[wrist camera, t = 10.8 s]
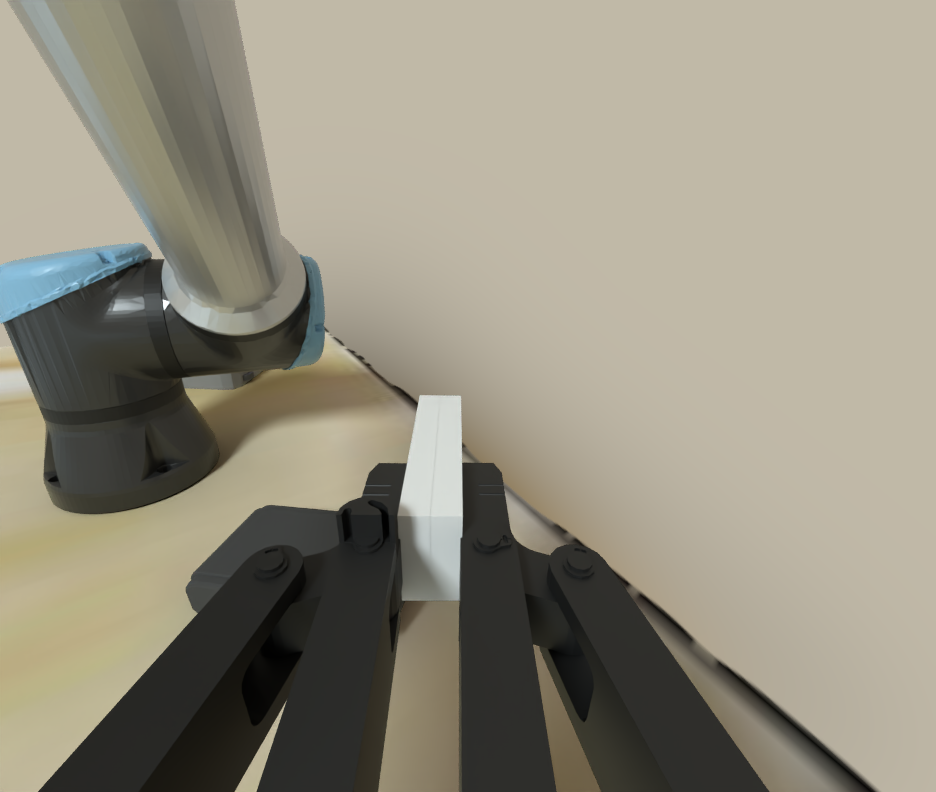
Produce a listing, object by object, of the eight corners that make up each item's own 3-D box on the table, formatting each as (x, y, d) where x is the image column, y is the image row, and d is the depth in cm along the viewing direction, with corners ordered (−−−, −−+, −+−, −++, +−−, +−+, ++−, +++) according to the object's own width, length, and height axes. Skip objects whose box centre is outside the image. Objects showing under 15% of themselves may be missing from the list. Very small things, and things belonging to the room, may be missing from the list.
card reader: (428, 552, 37) (269, 535, 40) (424, 513, 36) (259, 499, 39) (390, 652, 29) (194, 621, 32) (383, 607, 28) (177, 579, 31)
